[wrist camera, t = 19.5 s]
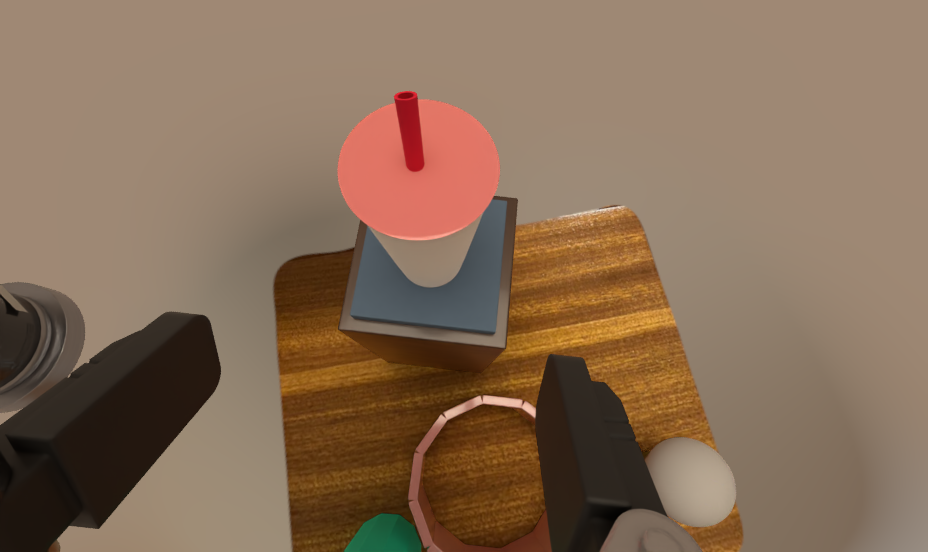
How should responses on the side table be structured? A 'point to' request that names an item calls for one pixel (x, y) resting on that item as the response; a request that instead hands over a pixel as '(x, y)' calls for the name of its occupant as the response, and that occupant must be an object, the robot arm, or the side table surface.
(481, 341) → the stand
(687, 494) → the light bulb
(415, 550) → the candle
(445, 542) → the pink segmented ring
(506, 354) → the side table surface
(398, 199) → the cup
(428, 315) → the coaster
